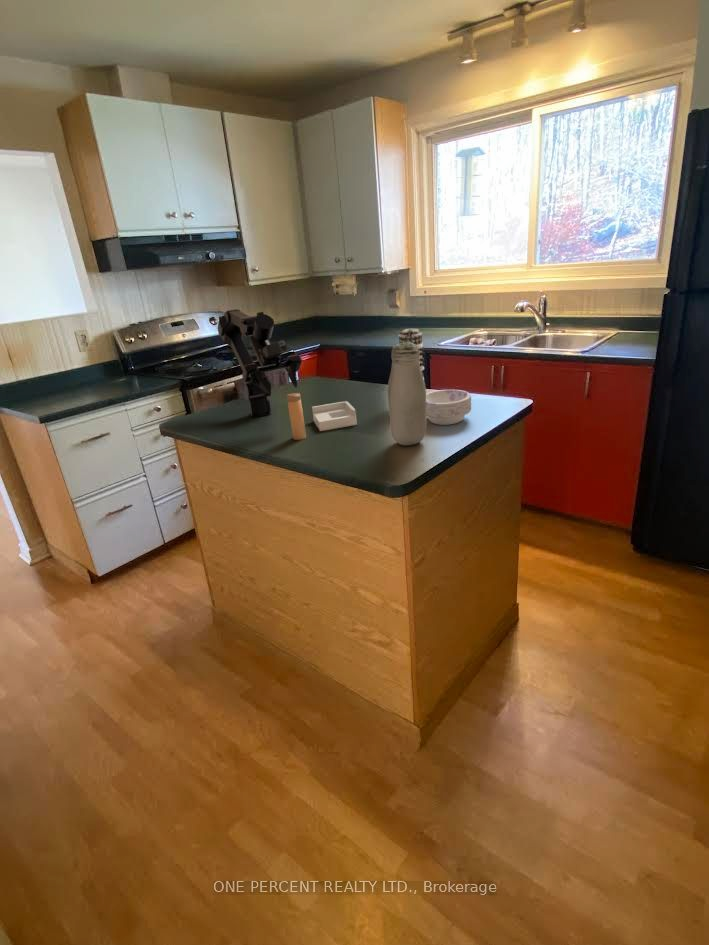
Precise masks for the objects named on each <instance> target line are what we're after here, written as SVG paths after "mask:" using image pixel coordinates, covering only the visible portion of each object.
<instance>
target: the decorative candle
mask: <svg viewBox="0 0 709 945" xmlns="http://www.w3.org/2000/svg"><path fill="white" fill-rule="evenodd" d="M422 335H423V332H421V331H420V329H418V328H412V327H411V328H404V329H402V330H401V331H400V332H399V333H398V337H399V343H404V342H412V343H414V344H415V345H416V346H417V347H418V350H419V354H420V357H419V363H420V370H421V372H422V376H423V379H424V380H425V377H424V370H425V364H426V363H424V362H425V358H424V357H423V356H424V355H425V354H426V353H425V352H424V351H425V349H426V348H425V347H424V346H423V336H422ZM399 343H398V344H399ZM424 383H425V384H426V382H425V381H424Z"/></svg>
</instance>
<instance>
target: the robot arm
mask: <svg viewBox="0 0 709 945" xmlns="http://www.w3.org/2000/svg"><path fill="white" fill-rule="evenodd" d="M274 325H275V320H274V318H272V317H271V316H270V315H268V314H265V313H264V311H260V312H257V313H256V315H248V314H246V313H244V312H242V311H241V310H240V309H237V308H235V309H229V310H226V311H225V312H224V315H223V317H221V318H220V319H219V320H218V322H217V331H218V332H217V333H218V336H219V337H221V339H222V341H223V342H224V343H225V344H227V345H228V346H230V347H231V349H232V351H233V353H234V356H235V357H236V360H237V361H238V364H239V367H240V368H241V370H242V379H243V381H244V383H243V384H244V386H243V389H242V390H243V391H242V395H243V398H244V400H246V401H248V402H249V406H250V414H251V415H250V416H251V417H252V418H257V417H264V416H270V415H271V412H272V410H271V404H270V403H271V402H270V400H269V398H268V397H272V383H271V382H270V379H268V376H267V375H266V374H265V373H269V372H274V371H278V370H283V369H285V370H286V372H287V376H288V378H289V379H290V381H291V384H292V385H293V387H294V388H297V387H298V381H297V380H298V379H297V372H298V371H299V370H300V368H301V365H302V362H303V359H302V357H301V356H300V355H299V354H293V355H288V356H287V357H286V360H285V361H281V359H282V356H281V355H282V354H284V352H286V351H287V350H288V347H287V343H286V342H285V340H284V339H283V340H279V341H277V342H276V343H271V341H270V339H271V338H272V334H273V331H274ZM243 336H244V337H246V338H247V337H250V339H249V343H250V348H251V349H253V351H254V353H255V356H256V361H257V362H258V363H259V365H260V366H258V364H257V363H256V362H254V360H253V358H252V356H251V354H250V352H249V350H248V348H247V346H246V344H245V342H244V340H243Z"/></svg>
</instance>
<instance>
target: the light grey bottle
mask: <svg viewBox="0 0 709 945" xmlns="http://www.w3.org/2000/svg"><path fill="white" fill-rule="evenodd" d="M390 356H391V360H392V362H391V368H390V369H391V370H390V374H389V378H388V383H387V400H388V401H387V402H388V414H389V423H390V424H389V426H390V433H391V436H392V439H393V440H394V441H395V442H396V443H397V444H399V445H401V446H413V445H417V444H418V443H420V442H421V441H423V440H424V438H425V435H426V432H427V417H426V394H427V389H426V388H427V387H426V382H425V378H424V379H423V377H424V375H423V376H422V372H421V370H420V363H419V357H420V354H419V350H418V347H417V346H416V345H415V344H414V343H412V342H404V343H397V344H395V345H394V346H393V347H392V349H391V355H390ZM424 382H425V383H424Z"/></svg>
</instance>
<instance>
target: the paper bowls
mask: <svg viewBox="0 0 709 945" xmlns="http://www.w3.org/2000/svg"><path fill="white" fill-rule="evenodd" d="M471 411H472V395H471V394H470V392H468V391H467V390H466V391H465V390H461V389H439V390H434V391H430V392H426V418H428V420H429V422H431V423H432V424H435V425H439V426H440V425H441V426H447V425H448V426H450V425H456V424H458V423H460V422H462V421H463V420H464V418H465V416H466V415H468V414H469V413H470V412H471Z"/></svg>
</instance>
